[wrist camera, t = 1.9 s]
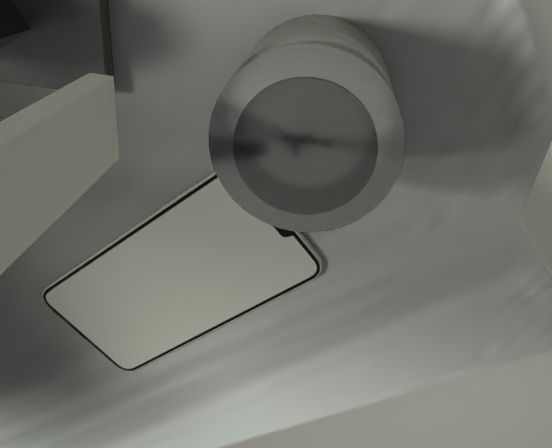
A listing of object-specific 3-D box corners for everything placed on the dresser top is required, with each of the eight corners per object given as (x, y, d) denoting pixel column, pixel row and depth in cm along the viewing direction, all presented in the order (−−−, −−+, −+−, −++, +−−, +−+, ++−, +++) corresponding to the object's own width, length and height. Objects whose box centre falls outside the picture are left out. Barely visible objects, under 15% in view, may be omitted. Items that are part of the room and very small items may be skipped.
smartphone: (34, 295, 28) (236, 157, 22) (40, 288, 28) (239, 151, 22) (126, 376, 30) (330, 272, 24) (130, 368, 31) (330, 264, 25)
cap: (238, 150, 22) (204, 221, 17) (247, 5, 19) (210, 35, 14) (372, 169, 22) (382, 247, 16) (405, 25, 18) (429, 63, 13)
